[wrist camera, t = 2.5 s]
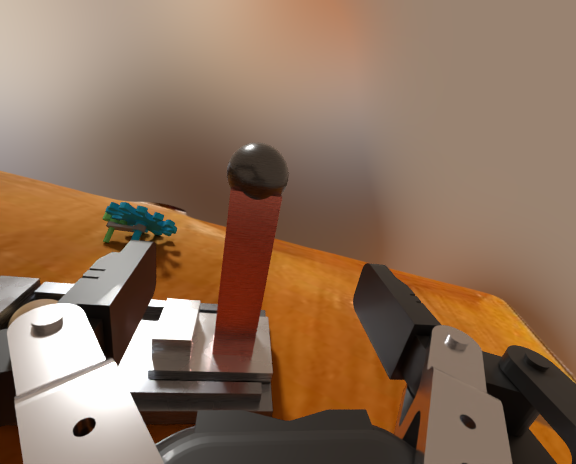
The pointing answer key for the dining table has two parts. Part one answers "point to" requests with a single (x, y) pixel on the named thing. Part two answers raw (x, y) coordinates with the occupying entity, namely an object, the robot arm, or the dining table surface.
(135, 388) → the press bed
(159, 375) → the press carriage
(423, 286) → the dining table surface
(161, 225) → the gear
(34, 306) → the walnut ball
